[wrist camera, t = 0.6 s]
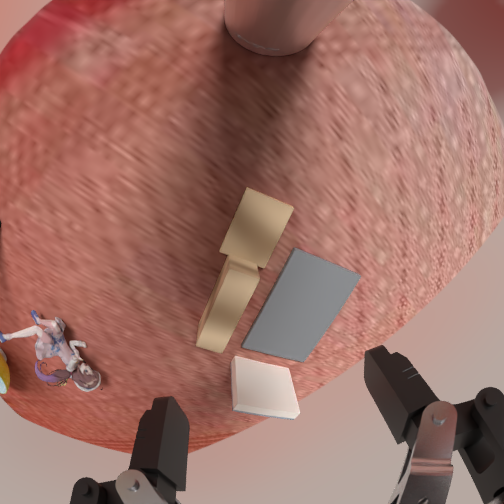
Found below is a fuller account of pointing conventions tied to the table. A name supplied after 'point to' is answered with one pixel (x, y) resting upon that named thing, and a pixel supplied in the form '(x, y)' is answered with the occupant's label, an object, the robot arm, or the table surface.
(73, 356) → the figurine
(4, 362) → the bowl
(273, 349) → the mat
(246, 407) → the tile
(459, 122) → the table surface
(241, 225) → the beige wooden bar
